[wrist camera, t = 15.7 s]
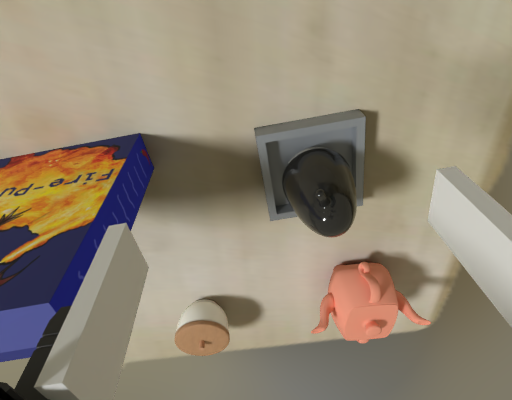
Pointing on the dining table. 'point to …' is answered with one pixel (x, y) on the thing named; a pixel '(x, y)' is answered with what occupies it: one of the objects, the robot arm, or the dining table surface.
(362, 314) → the teapot
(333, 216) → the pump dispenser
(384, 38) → the dining table surface
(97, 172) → the cereal box
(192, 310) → the lidded jar
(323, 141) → the tray
